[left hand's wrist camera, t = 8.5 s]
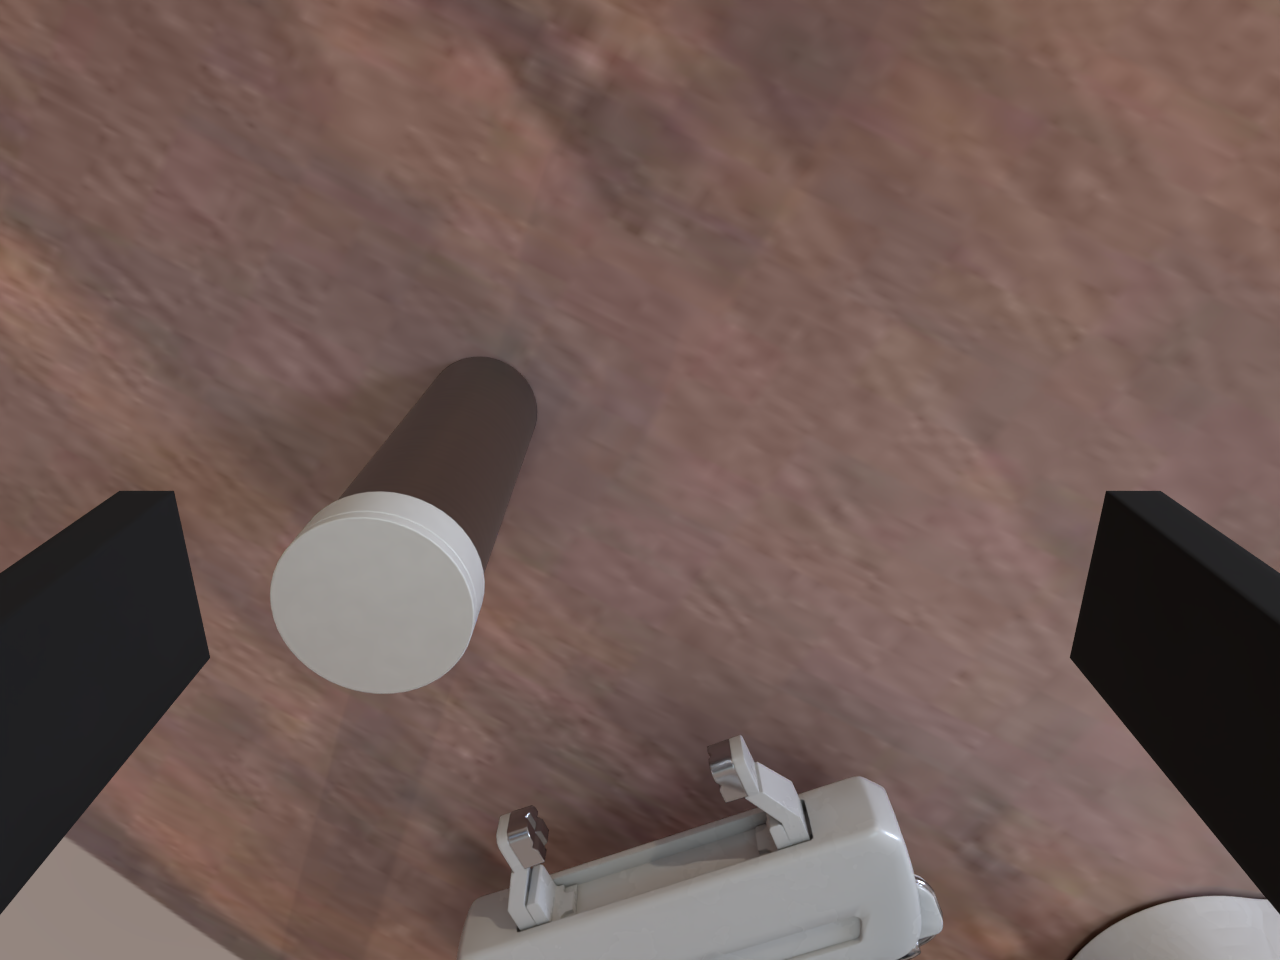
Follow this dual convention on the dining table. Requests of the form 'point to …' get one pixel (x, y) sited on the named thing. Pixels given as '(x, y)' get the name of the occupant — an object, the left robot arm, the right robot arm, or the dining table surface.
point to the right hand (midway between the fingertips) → (616, 785)
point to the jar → (460, 447)
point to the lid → (378, 593)
